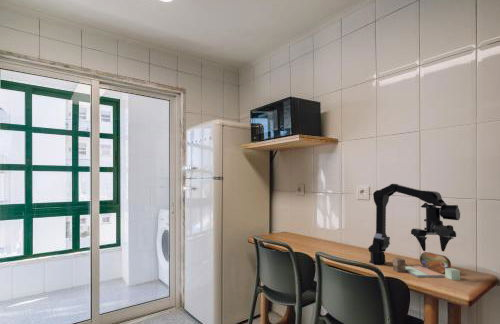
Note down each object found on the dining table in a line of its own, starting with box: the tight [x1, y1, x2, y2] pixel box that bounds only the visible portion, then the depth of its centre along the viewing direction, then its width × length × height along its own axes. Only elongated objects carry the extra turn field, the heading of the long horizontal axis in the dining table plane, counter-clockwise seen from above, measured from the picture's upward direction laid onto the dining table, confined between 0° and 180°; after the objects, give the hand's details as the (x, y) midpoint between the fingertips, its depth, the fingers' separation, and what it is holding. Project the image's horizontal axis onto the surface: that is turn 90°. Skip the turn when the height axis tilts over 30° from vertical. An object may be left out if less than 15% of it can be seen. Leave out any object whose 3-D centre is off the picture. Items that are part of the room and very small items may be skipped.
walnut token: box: [392, 257, 406, 273], centre depth 143 cm, size 4×4×6 cm
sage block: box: [444, 267, 461, 281], centre depth 133 cm, size 4×4×4 cm
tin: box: [419, 251, 452, 274], centre depth 145 cm, size 15×3×8 cm, turn 21°
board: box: [405, 265, 446, 279], centre depth 142 cm, size 13×17×1 cm
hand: (433, 251), depth 136 cm, fingers open, 9 cm apart
